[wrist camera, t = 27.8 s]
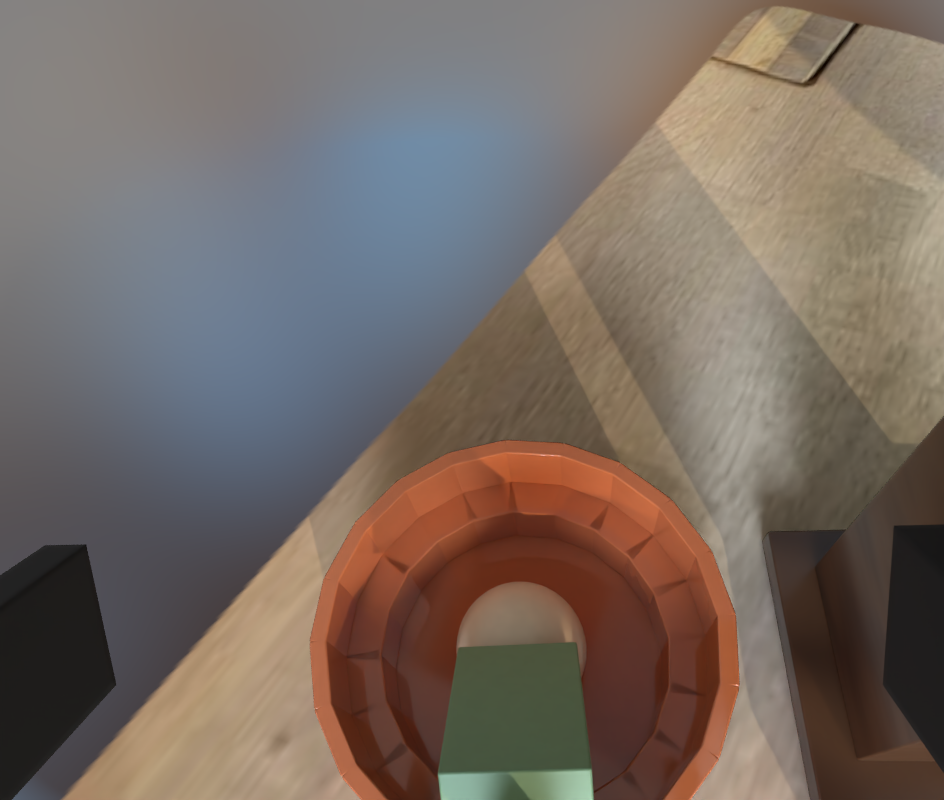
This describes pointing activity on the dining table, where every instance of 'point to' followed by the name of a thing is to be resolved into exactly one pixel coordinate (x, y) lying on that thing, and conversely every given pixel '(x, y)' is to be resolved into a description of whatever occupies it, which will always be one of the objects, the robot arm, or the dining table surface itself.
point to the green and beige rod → (517, 701)
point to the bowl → (541, 562)
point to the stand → (854, 640)
